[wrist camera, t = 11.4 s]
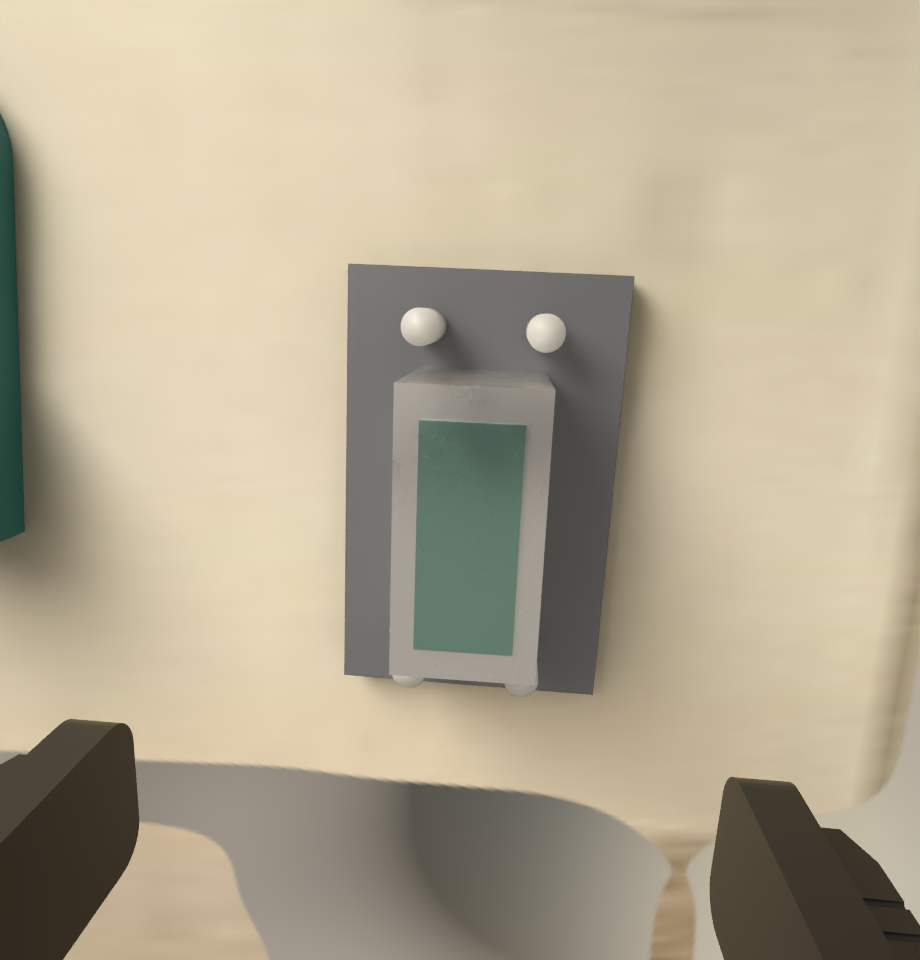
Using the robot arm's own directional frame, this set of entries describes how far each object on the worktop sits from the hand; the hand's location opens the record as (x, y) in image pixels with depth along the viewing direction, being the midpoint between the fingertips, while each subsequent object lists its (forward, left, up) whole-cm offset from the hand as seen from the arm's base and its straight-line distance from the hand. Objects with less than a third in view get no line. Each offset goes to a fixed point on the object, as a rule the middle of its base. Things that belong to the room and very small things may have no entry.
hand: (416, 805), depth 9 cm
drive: (0, 0, -17) cm, 17 cm away
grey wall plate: (0, 0, -19) cm, 19 cm away
